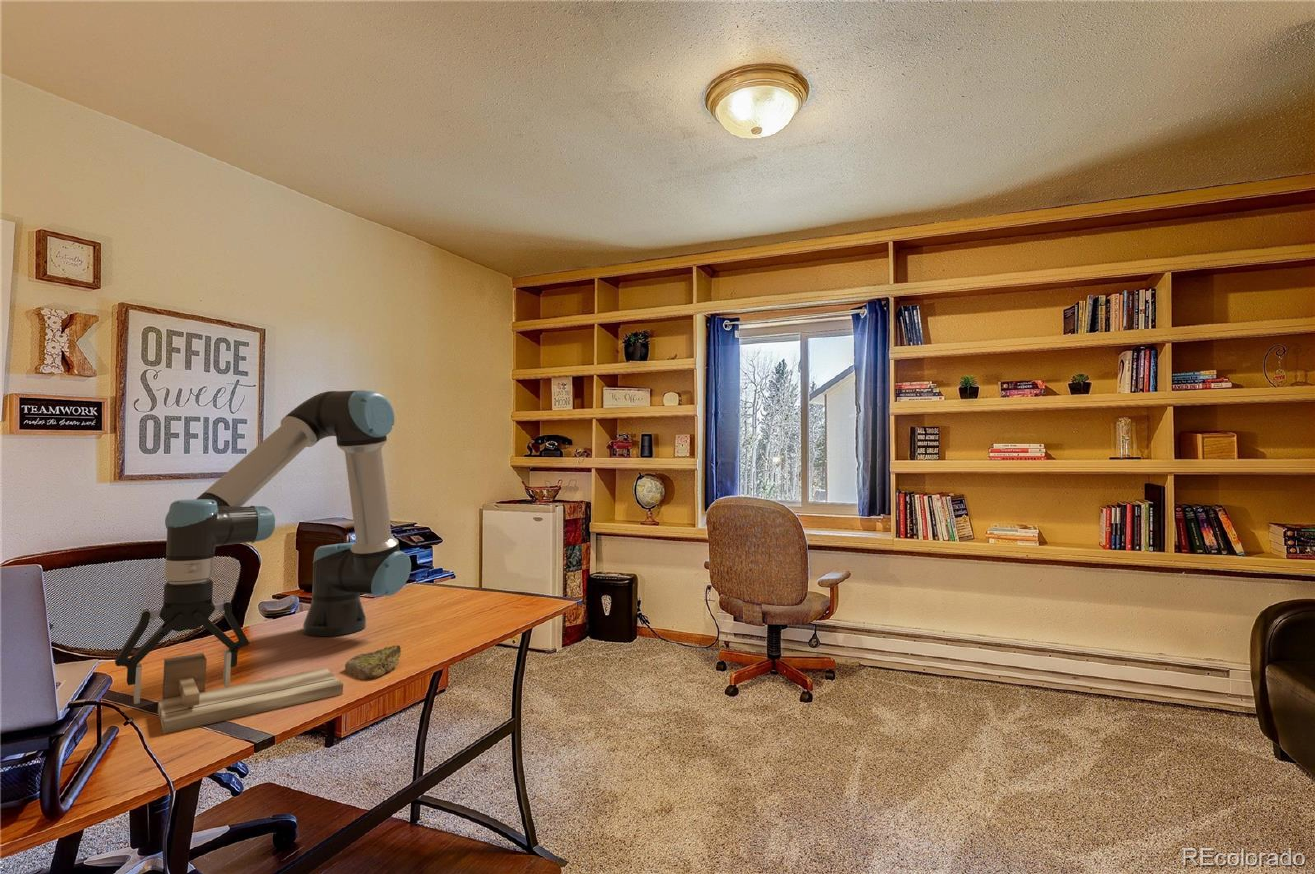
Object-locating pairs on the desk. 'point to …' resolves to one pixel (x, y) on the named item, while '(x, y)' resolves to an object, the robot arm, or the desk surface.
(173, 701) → the board
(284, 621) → the desk surface
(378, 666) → the rock
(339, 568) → the robot arm
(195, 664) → the brown blocky t-shaped piece
